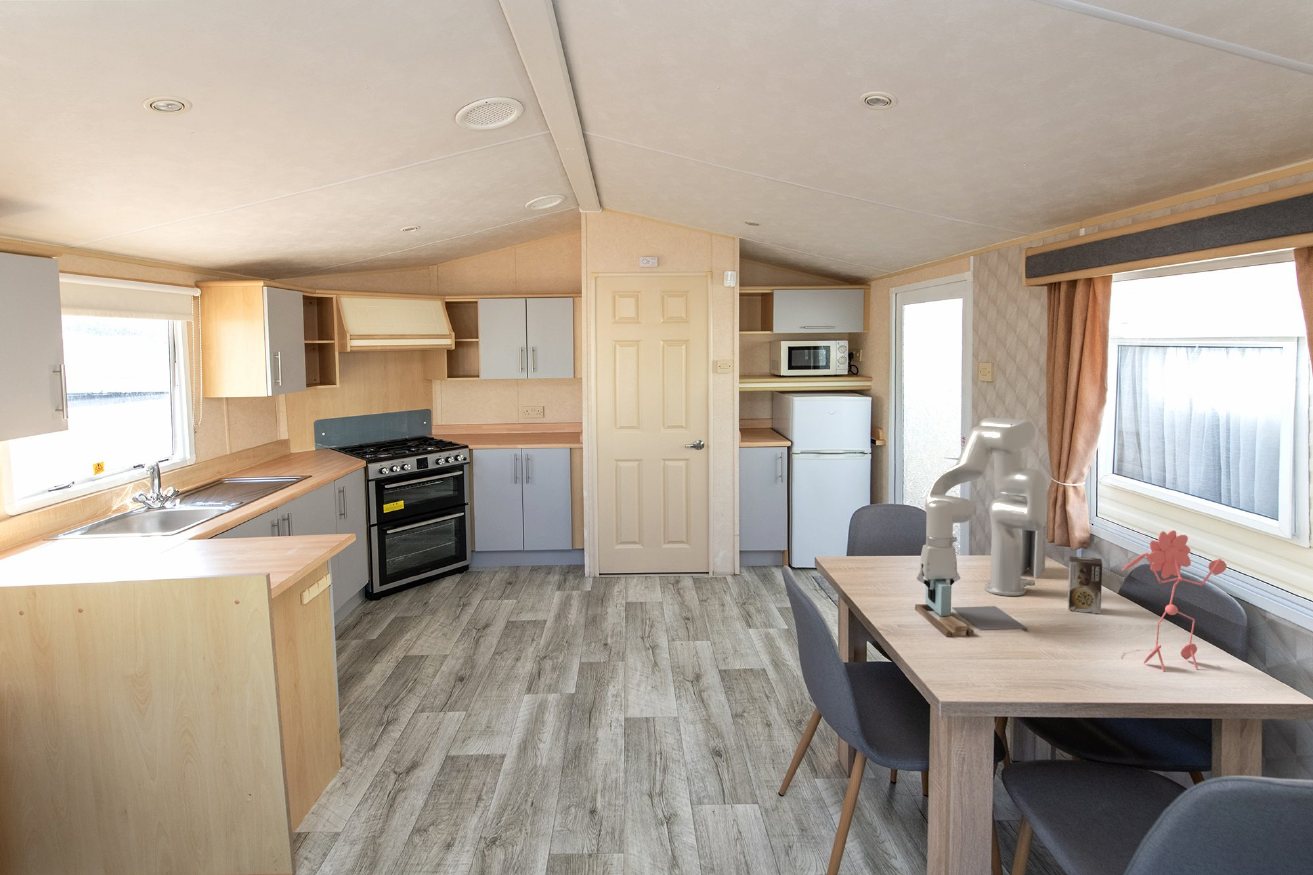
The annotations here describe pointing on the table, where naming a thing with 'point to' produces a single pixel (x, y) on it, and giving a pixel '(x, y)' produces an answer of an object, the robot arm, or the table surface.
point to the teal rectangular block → (940, 598)
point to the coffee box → (1085, 584)
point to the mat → (989, 618)
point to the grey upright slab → (1034, 548)
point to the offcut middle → (957, 633)
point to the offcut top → (953, 624)
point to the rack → (945, 631)
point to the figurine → (1169, 560)
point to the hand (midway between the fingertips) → (938, 600)
